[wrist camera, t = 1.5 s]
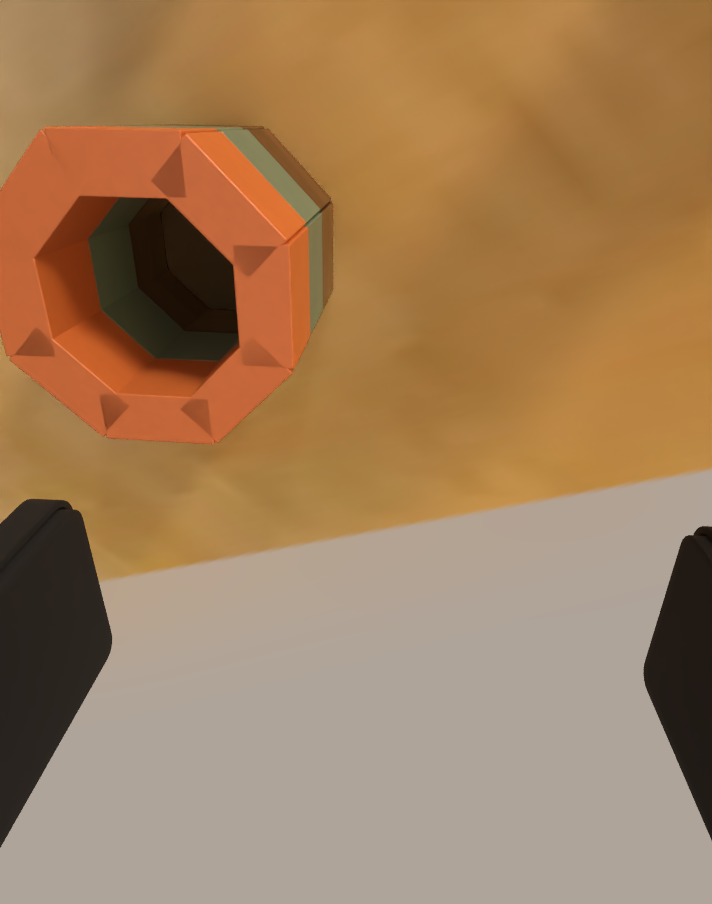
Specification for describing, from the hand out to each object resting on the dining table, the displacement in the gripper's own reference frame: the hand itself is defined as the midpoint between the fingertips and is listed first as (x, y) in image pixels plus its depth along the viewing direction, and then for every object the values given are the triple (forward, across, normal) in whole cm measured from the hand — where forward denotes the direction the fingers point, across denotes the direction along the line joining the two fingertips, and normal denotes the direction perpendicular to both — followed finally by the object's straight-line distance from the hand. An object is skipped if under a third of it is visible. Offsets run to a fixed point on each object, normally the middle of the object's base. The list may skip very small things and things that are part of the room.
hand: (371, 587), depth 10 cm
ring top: (+17, +9, -1) cm, 19 cm away
